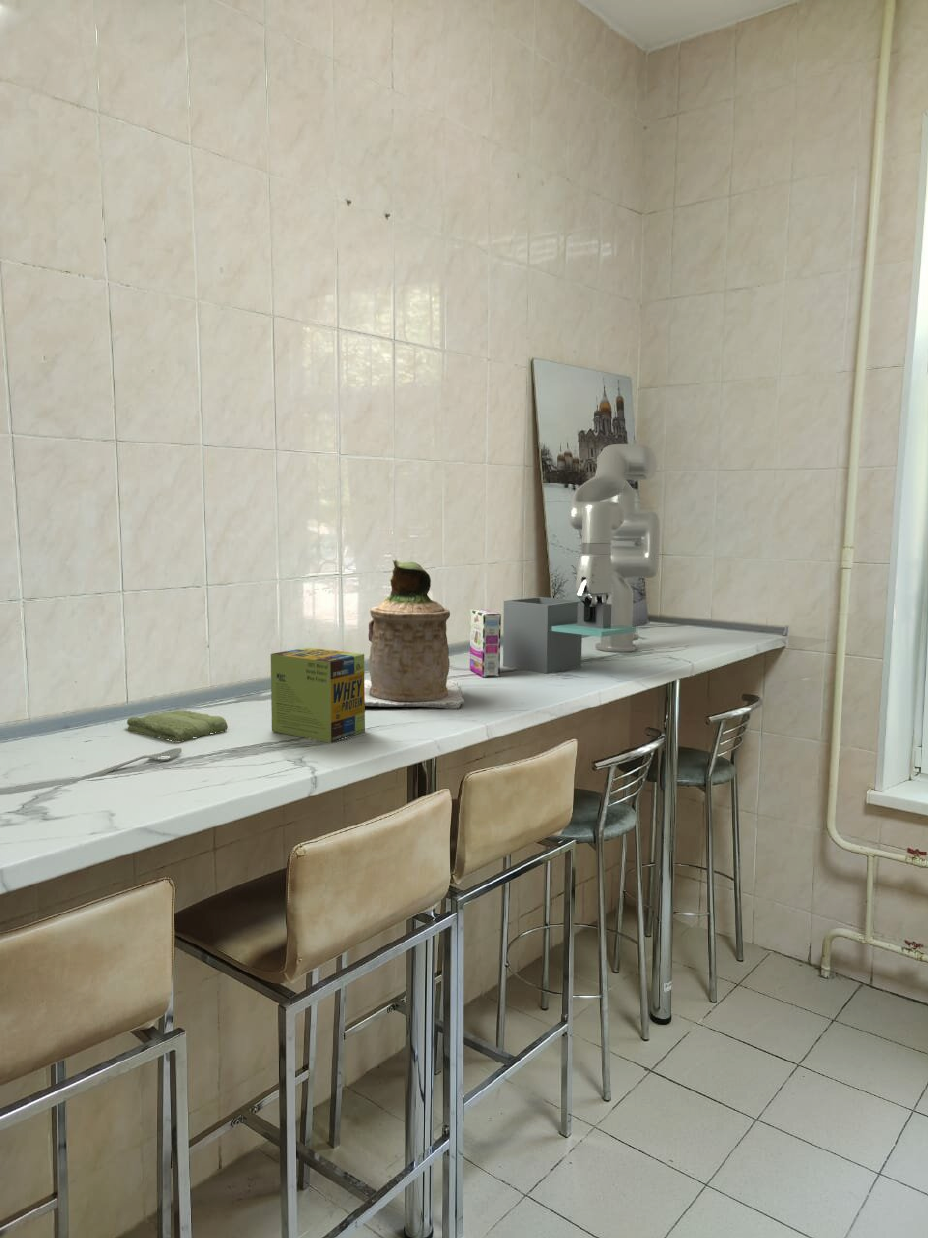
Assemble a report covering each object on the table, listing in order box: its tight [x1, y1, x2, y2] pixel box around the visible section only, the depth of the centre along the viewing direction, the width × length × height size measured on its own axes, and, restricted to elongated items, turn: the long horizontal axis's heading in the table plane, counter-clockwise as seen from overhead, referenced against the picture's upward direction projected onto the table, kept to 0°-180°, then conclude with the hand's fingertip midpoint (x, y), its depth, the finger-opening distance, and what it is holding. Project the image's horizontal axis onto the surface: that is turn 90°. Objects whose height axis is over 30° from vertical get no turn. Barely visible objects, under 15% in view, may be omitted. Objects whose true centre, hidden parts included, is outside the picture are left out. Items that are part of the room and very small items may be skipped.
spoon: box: [81, 747, 182, 779], centre depth 150 cm, size 4×21×2 cm, turn 140°
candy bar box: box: [469, 609, 502, 678], centre depth 232 cm, size 11×5×16 cm, turn 18°
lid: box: [551, 602, 637, 638], centre depth 231 cm, size 16×16×7 cm
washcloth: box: [126, 709, 229, 742], centre depth 174 cm, size 13×18×3 cm
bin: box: [502, 596, 583, 674], centre depth 243 cm, size 15×15×18 cm
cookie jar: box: [364, 558, 465, 709], centre depth 202 cm, size 25×25×32 cm
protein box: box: [270, 647, 366, 743], centre depth 173 cm, size 10×15×16 cm
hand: (594, 620), depth 231 cm, fingers closed on lid, 3 cm apart
